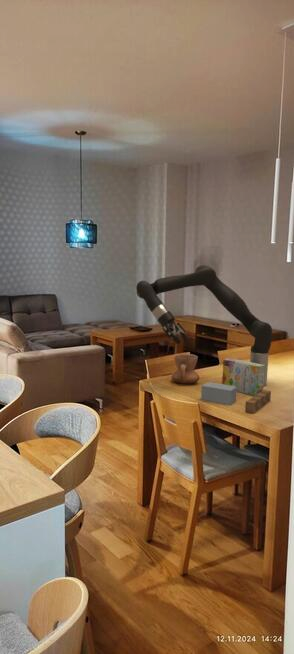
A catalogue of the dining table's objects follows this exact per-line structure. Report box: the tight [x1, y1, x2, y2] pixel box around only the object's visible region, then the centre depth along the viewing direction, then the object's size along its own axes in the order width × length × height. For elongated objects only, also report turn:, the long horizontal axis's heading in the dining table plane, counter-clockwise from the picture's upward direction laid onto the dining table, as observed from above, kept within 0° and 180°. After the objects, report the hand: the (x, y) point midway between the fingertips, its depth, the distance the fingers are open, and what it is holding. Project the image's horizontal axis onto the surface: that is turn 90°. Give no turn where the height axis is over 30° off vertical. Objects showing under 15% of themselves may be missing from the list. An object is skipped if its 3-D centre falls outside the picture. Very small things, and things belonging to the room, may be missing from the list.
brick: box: [200, 381, 237, 406], centre depth 218 cm, size 8×14×7 cm, turn 61°
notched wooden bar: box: [244, 389, 272, 415], centre depth 211 cm, size 24×4×4 cm, turn 148°
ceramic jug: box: [171, 353, 200, 385], centre depth 247 cm, size 18×14×14 cm
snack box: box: [221, 357, 265, 397], centre depth 234 cm, size 21×6×15 cm, turn 44°
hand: (183, 342), depth 224 cm, fingers open, 8 cm apart
